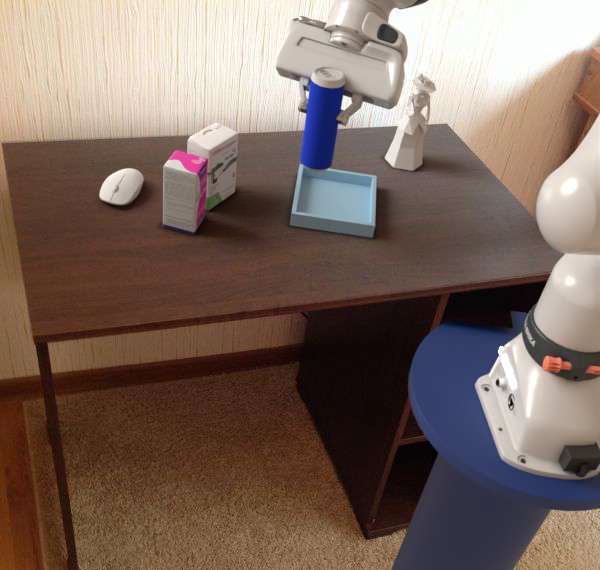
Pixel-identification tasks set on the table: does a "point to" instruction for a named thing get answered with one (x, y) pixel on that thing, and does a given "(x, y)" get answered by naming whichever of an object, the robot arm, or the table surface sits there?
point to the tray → (335, 201)
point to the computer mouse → (121, 187)
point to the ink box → (217, 160)
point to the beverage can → (322, 118)
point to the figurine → (412, 128)
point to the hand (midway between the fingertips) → (321, 117)
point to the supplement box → (184, 191)
